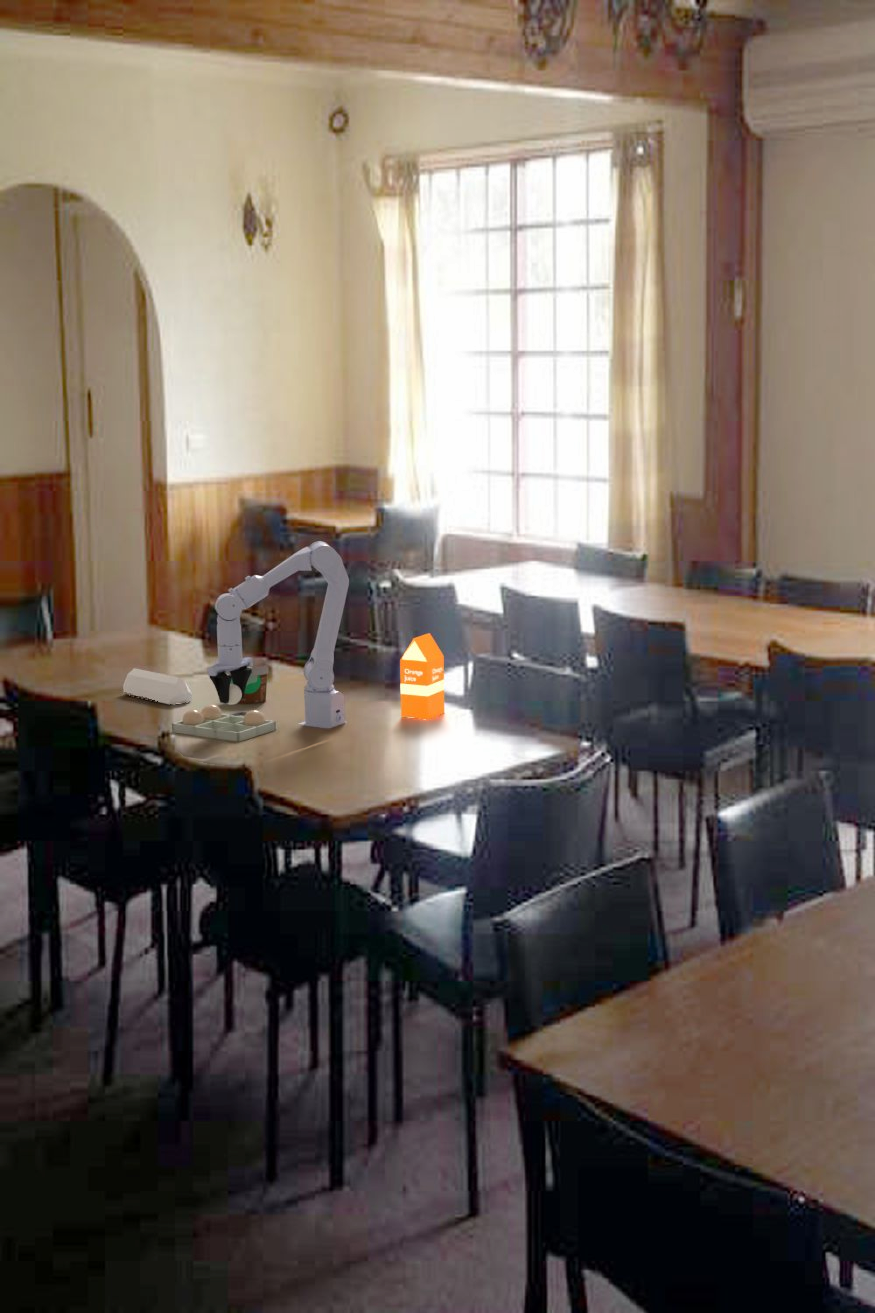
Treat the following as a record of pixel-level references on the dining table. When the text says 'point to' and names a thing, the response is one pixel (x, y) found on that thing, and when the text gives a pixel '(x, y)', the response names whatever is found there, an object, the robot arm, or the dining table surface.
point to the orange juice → (422, 679)
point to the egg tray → (225, 728)
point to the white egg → (234, 694)
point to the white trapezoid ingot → (157, 687)
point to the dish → (239, 713)
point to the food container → (255, 686)
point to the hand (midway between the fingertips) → (231, 700)
